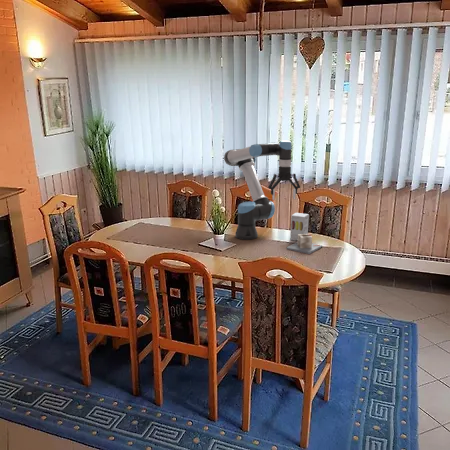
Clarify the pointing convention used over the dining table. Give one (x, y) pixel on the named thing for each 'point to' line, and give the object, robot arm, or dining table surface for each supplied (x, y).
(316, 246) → the shaft plate
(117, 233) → the dining table surface
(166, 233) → the dining table surface
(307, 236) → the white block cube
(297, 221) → the supplement box
